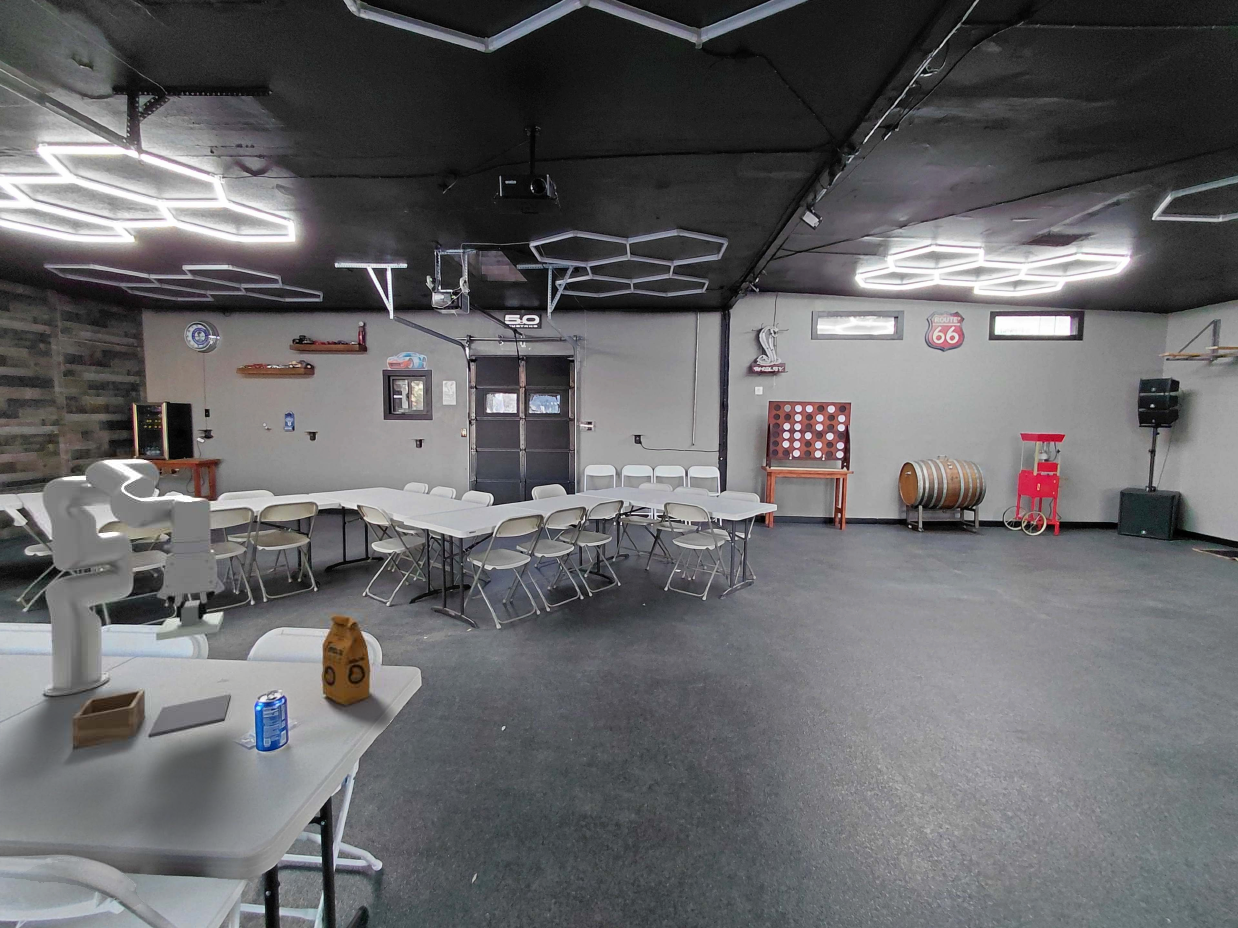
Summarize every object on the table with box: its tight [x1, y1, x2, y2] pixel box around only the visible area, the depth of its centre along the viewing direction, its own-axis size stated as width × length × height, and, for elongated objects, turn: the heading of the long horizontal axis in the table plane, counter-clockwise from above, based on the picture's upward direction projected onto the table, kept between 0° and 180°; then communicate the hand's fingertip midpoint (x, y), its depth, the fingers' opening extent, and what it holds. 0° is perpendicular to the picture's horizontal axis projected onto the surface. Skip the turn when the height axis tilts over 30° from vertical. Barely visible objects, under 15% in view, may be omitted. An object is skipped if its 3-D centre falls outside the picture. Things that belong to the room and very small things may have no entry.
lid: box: [155, 599, 224, 641], centre depth 126 cm, size 11×11×6 cm
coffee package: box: [321, 613, 371, 706], centre depth 137 cm, size 10×12×22 cm
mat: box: [148, 693, 231, 737], centre depth 127 cm, size 14×14×1 cm
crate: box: [71, 689, 146, 750], centre depth 118 cm, size 10×10×7 cm
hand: (191, 618), depth 126 cm, fingers closed on lid, 3 cm apart
